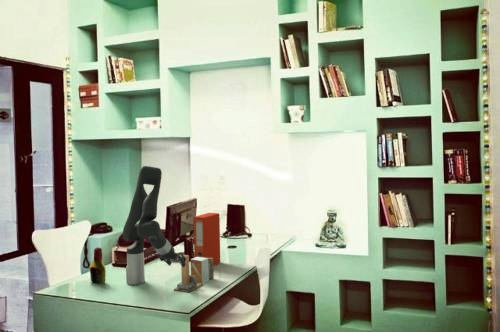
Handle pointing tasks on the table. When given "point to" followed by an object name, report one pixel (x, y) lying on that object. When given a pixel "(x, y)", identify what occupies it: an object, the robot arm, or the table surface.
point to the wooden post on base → (186, 276)
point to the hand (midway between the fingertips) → (177, 264)
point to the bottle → (97, 267)
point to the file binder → (207, 236)
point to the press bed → (211, 277)
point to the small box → (200, 269)
